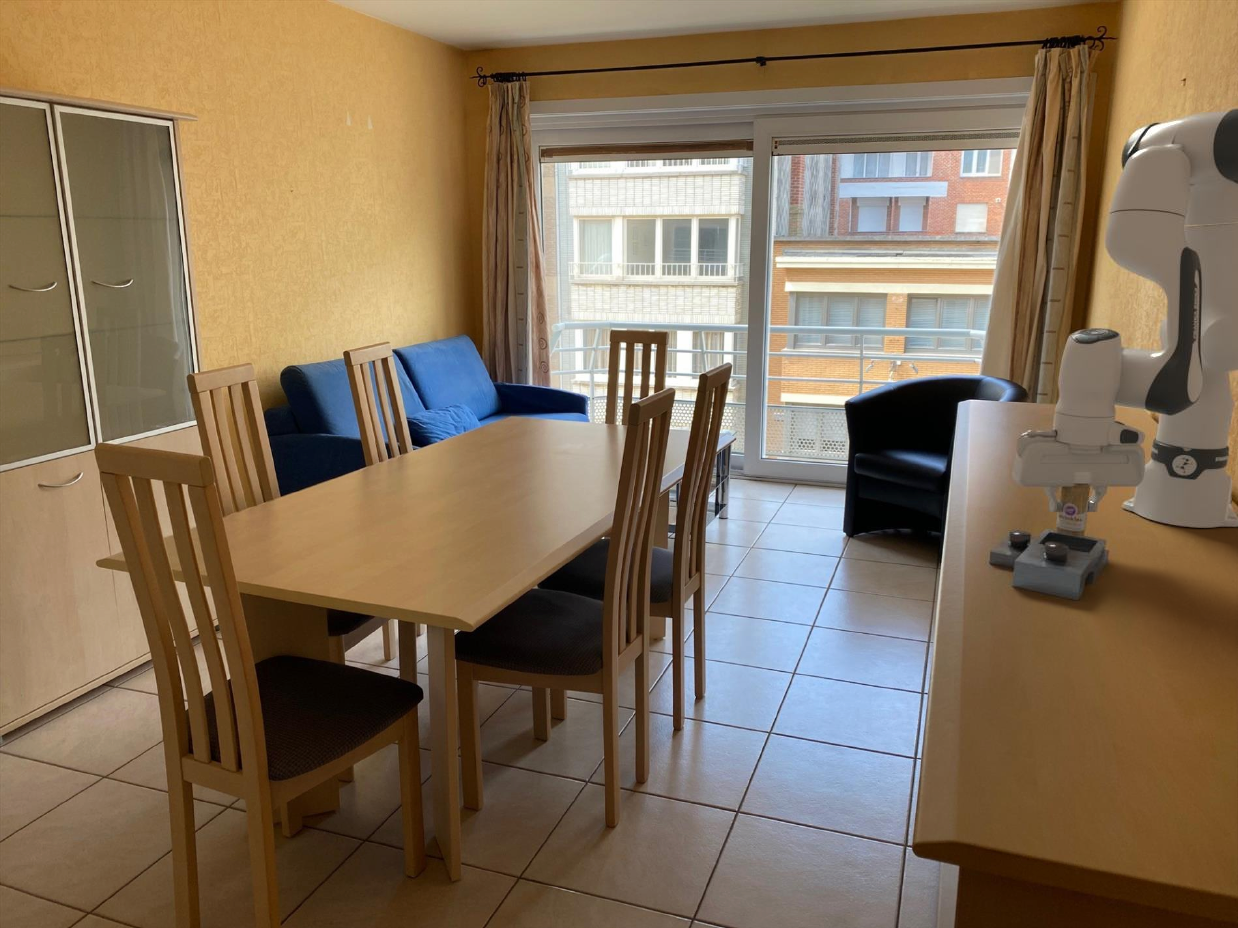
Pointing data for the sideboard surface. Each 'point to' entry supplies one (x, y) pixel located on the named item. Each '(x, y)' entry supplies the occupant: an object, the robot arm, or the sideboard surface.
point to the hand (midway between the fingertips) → (1072, 511)
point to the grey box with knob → (1057, 563)
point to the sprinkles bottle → (1075, 505)
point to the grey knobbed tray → (1021, 541)
